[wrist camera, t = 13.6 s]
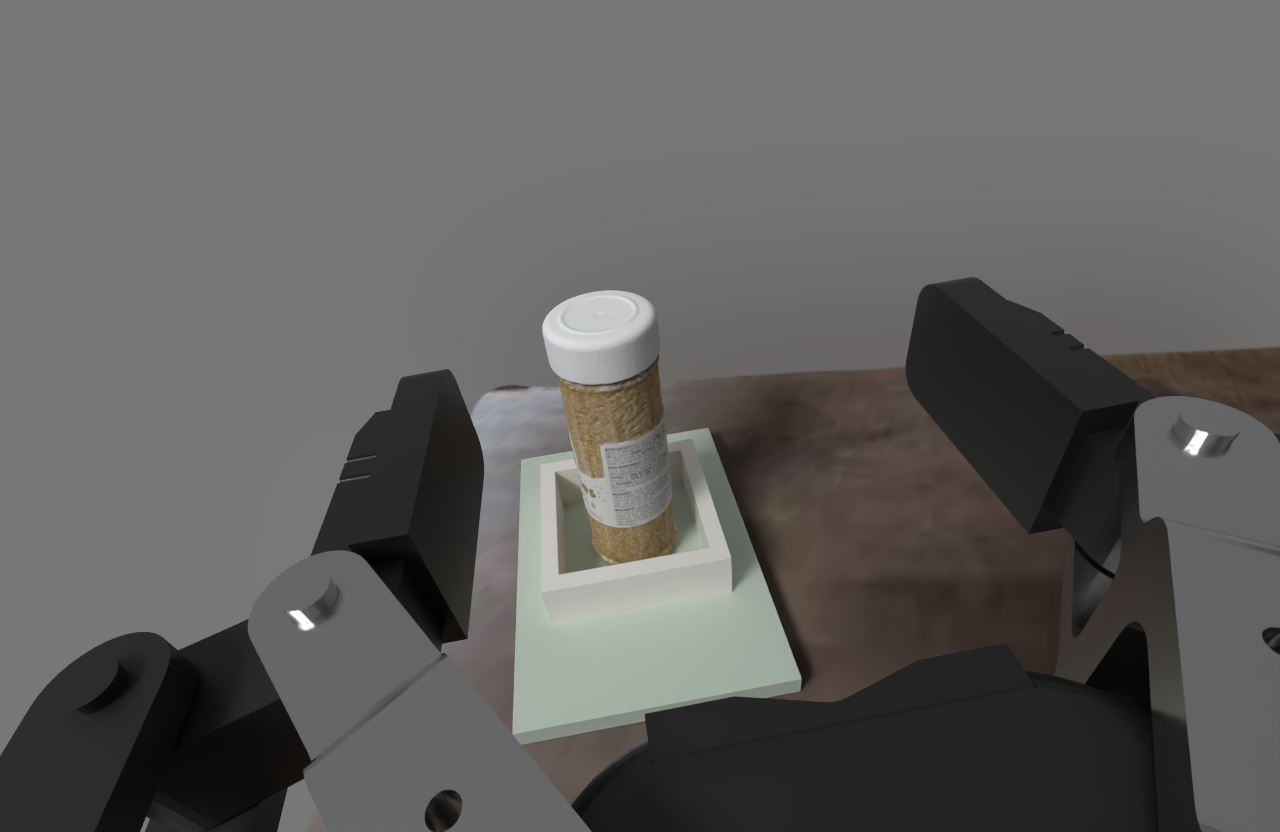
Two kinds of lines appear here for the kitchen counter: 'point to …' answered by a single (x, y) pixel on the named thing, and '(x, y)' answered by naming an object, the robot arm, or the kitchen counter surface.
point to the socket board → (639, 606)
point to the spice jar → (615, 420)
